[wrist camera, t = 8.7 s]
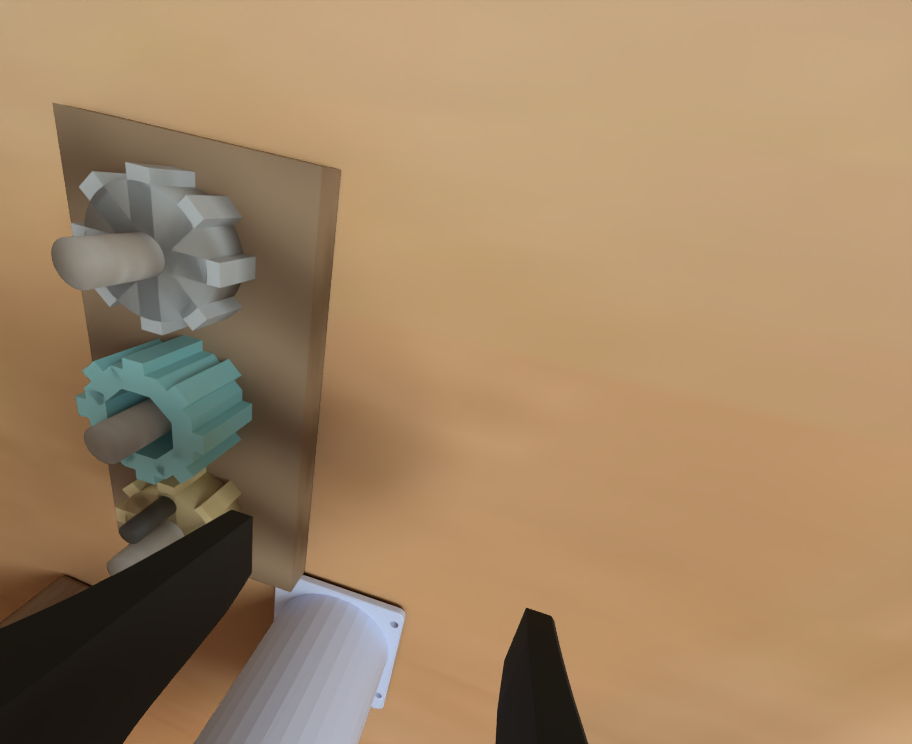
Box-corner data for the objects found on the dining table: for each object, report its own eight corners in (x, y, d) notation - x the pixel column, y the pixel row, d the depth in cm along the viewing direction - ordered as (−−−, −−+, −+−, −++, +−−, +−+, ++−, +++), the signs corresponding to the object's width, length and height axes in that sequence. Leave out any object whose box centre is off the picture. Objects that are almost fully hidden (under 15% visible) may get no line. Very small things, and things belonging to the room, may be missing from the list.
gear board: (304, 571, 25) (236, 674, 20) (141, 515, 26) (34, 597, 21) (341, 169, 16) (235, 152, 11) (91, 110, 17) (-120, 67, 12)
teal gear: (251, 462, 21) (206, 501, 18) (146, 428, 21) (87, 462, 18) (253, 354, 18) (201, 381, 16) (135, 320, 19) (65, 340, 16)
